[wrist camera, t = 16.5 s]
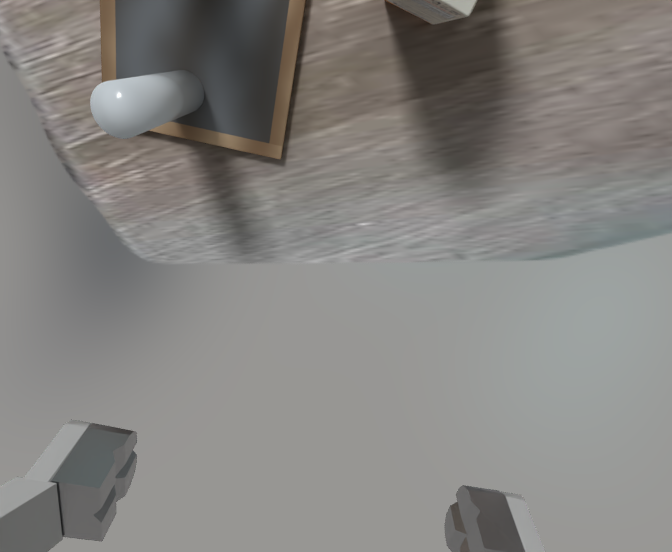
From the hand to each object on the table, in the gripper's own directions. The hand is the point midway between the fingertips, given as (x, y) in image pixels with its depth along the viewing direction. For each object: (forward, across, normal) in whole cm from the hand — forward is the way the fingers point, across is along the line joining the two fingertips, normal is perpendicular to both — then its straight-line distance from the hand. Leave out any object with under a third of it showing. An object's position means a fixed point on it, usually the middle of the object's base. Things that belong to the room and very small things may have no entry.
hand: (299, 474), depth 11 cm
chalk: (+33, +14, -4) cm, 36 cm away
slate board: (+34, +13, -8) cm, 37 cm away
